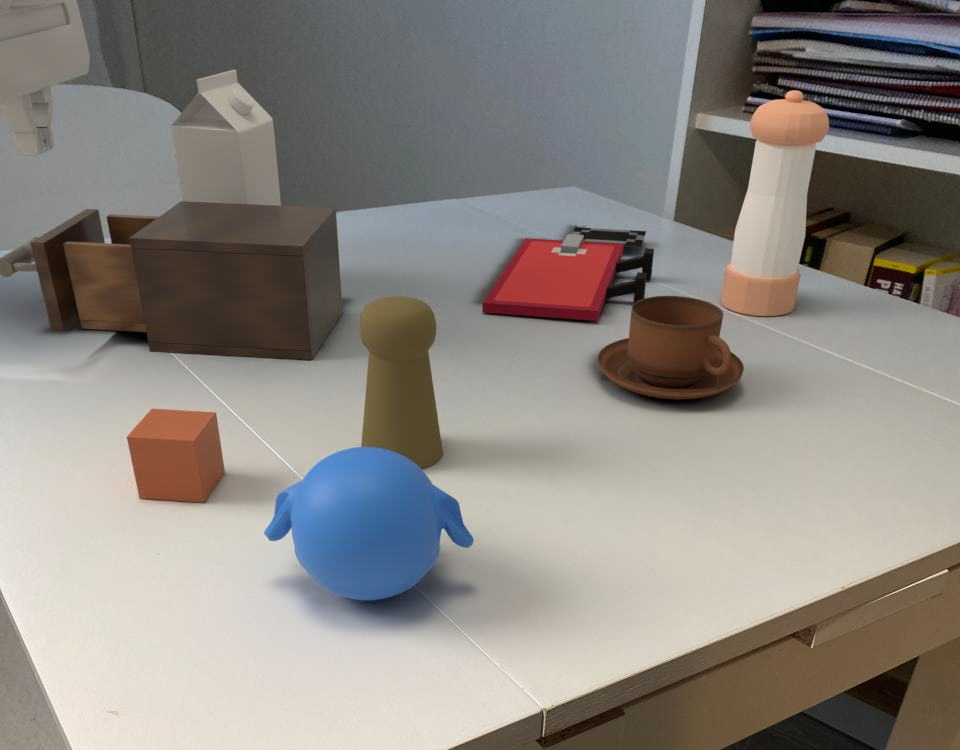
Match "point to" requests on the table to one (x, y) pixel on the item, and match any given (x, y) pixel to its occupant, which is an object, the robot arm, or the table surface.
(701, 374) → the cup and saucer
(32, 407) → the table surface
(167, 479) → the block
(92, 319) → the drawer
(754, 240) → the pepper shaker
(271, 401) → the table surface
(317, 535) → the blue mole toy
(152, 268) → the cabinet
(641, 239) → the red board with handle
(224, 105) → the milk carton
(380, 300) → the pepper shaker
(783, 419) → the table surface
